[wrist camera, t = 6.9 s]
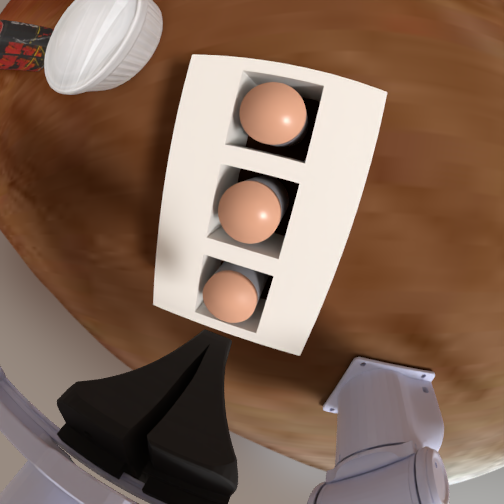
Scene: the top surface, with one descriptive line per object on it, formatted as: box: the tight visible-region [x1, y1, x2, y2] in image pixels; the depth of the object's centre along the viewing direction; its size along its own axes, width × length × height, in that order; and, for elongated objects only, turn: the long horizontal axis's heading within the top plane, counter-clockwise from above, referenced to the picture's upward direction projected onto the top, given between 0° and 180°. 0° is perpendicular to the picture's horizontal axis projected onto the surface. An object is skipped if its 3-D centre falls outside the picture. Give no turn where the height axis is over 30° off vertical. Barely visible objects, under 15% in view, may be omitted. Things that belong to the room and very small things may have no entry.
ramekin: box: [44, 0, 163, 95], centre depth 15 cm, size 11×11×5 cm
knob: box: [239, 82, 309, 148], centre depth 15 cm, size 3×3×5 cm
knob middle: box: [218, 176, 289, 244], centre depth 17 cm, size 3×3×5 cm
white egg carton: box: [153, 55, 387, 356], centre depth 17 cm, size 11×17×5 cm, turn 167°
